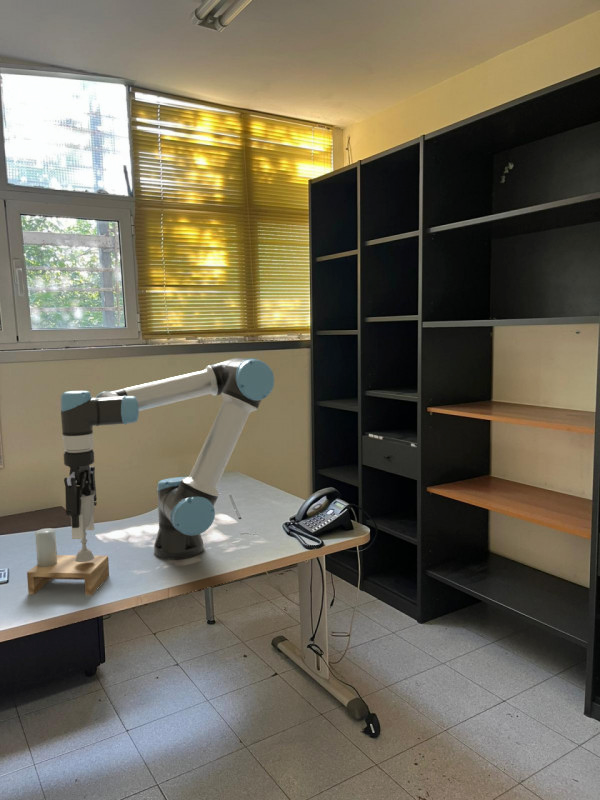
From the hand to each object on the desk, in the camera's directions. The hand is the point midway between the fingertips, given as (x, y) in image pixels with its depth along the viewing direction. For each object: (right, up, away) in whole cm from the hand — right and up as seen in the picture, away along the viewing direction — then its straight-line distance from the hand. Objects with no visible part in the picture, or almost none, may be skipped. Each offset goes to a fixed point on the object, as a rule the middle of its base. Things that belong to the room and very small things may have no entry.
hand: (83, 533), depth 158 cm
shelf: (-4, -14, +2) cm, 15 cm away
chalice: (0, -7, +1) cm, 7 cm away
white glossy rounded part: (-10, -8, +2) cm, 14 cm away
